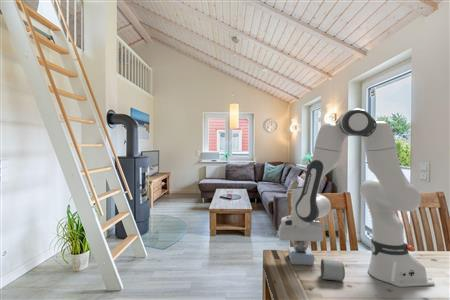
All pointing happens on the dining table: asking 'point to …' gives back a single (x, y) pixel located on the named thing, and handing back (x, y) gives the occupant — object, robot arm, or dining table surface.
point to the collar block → (301, 256)
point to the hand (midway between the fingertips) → (300, 249)
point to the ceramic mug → (332, 270)
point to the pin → (300, 246)
